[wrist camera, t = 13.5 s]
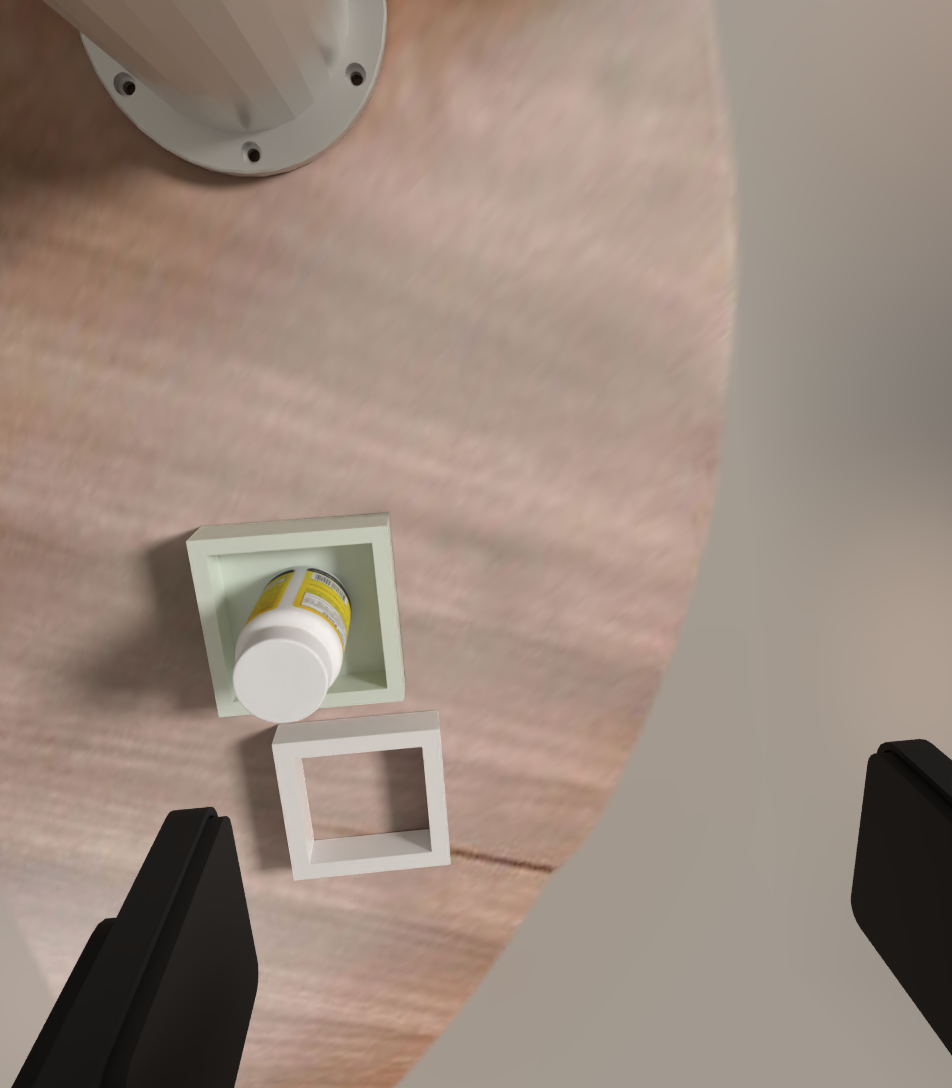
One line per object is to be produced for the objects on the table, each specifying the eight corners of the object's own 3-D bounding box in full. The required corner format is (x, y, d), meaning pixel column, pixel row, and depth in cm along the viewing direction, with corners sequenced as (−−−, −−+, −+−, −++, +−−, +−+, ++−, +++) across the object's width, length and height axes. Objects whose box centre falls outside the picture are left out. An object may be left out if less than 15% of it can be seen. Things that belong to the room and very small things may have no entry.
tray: (200, 526, 37) (185, 541, 35) (388, 512, 38) (386, 525, 36) (230, 693, 40) (218, 717, 38) (404, 678, 41) (404, 700, 39)
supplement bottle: (263, 647, 39) (224, 733, 31) (257, 563, 38) (215, 631, 30) (354, 646, 40) (338, 730, 32) (352, 563, 38) (334, 630, 30)
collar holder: (278, 724, 41) (271, 744, 39) (438, 709, 42) (439, 729, 40) (299, 855, 44) (294, 880, 42) (449, 840, 44) (450, 864, 43)
